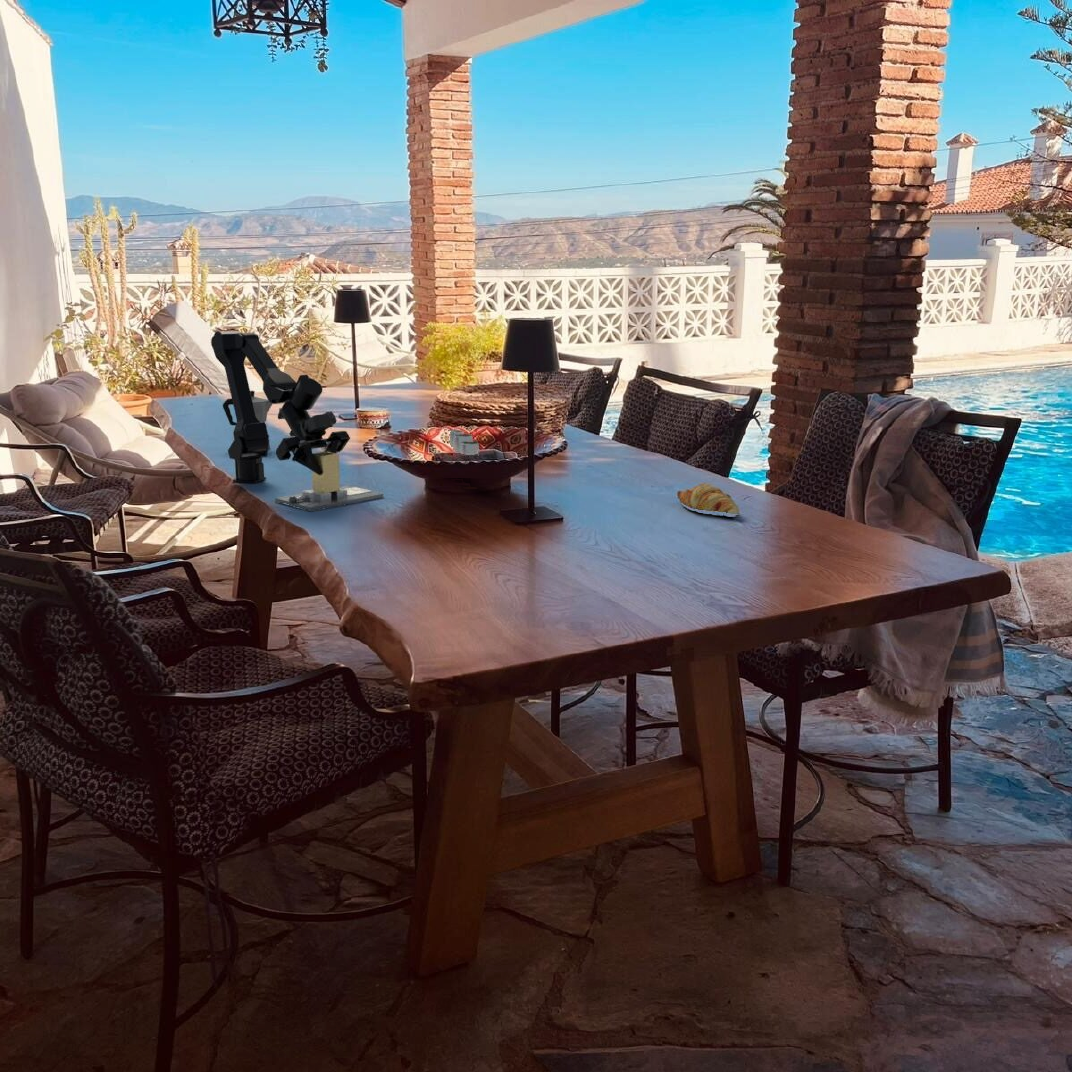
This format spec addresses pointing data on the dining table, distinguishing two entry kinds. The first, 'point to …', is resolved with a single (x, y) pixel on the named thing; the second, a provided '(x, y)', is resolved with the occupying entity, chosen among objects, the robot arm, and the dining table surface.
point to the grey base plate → (329, 498)
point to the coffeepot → (259, 406)
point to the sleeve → (327, 472)
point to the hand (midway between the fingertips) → (329, 472)
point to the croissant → (708, 499)
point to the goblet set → (463, 443)
